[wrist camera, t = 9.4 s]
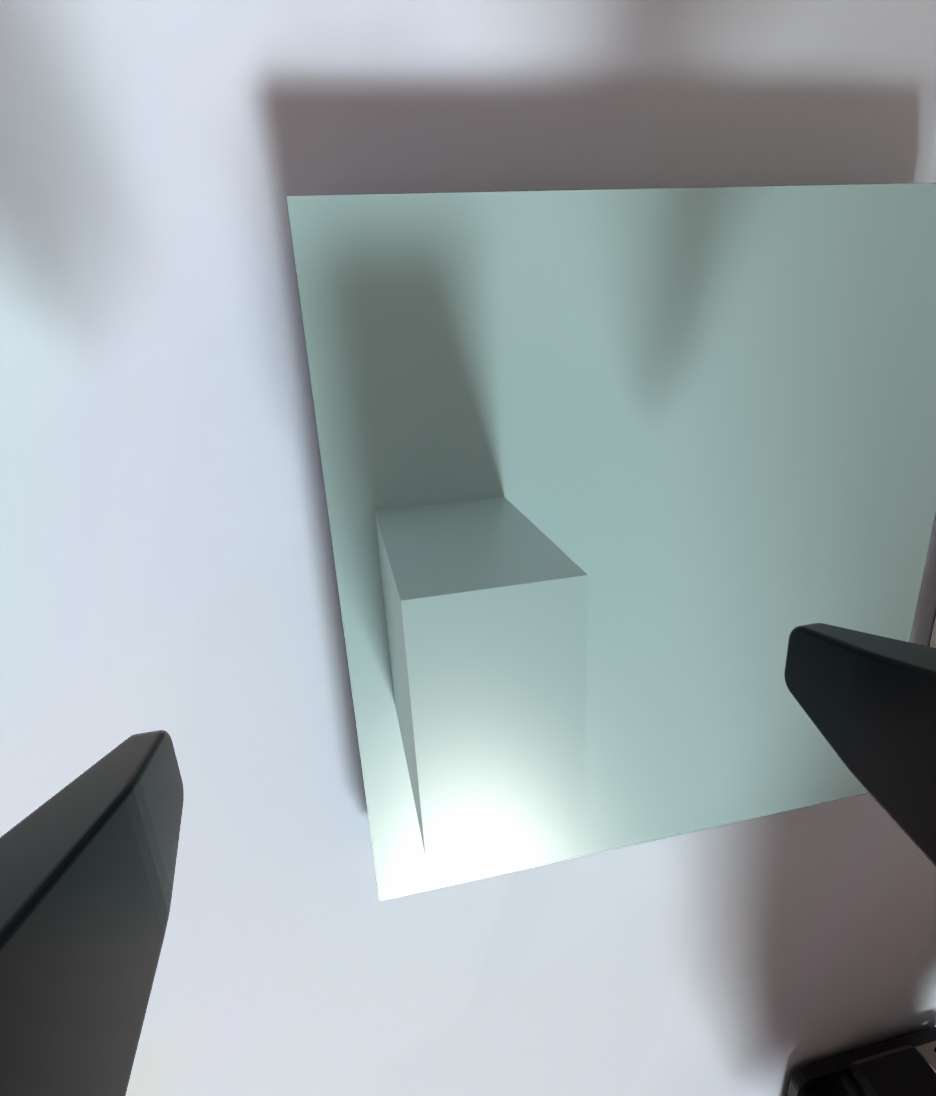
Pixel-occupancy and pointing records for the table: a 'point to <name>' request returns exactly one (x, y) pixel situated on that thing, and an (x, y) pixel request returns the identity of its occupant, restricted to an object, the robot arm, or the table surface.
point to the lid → (610, 497)
